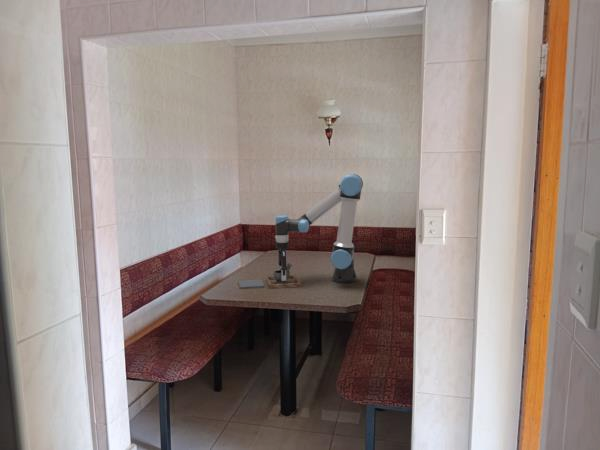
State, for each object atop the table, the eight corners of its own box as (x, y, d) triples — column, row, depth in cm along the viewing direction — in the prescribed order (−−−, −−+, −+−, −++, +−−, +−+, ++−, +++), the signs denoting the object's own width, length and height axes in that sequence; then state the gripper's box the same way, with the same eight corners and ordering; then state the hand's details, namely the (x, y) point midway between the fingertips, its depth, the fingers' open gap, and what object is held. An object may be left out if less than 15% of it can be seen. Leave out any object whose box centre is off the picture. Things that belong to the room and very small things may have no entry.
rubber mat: (261, 280, 282) (261, 279, 282) (264, 287, 267) (264, 285, 267) (238, 282, 280) (238, 280, 280) (239, 288, 264) (239, 287, 264)
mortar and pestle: (272, 285, 272) (272, 265, 271) (274, 281, 281) (273, 261, 280) (291, 284, 272) (291, 264, 270) (292, 281, 281) (292, 261, 280)
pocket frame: (295, 277, 289) (295, 274, 289) (301, 286, 268) (301, 283, 267) (265, 279, 286) (264, 276, 286) (269, 288, 264) (269, 285, 264)
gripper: (273, 239, 284) (274, 274, 287) (278, 245, 262) (278, 283, 265) (285, 238, 285) (286, 274, 288) (291, 244, 263) (291, 282, 266)
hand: (282, 278), depth 276 cm, fingers closed on mortar and pestle, 10 cm apart
